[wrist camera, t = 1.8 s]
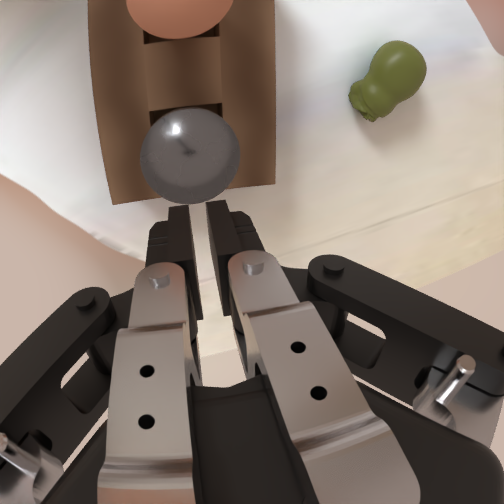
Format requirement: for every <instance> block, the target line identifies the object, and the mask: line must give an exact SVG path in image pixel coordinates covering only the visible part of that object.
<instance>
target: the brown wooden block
mask: <svg viewBox="0 0 504 504" xmlns="http://www.w3.org/2000/svg"><path fill="white" fill-rule="evenodd" d="M88 34H89V52H90V66H91V77H92V87H93V96H94V104H95V112H96V119H97V126H98V132H99V138H100V144H101V150H102V156H103V161H104V166H105V172H106V177H107V181H108V186H109V191H110V195H111V200H112V204H113V205H117V204H123V203H129V202H135V201H141V200H147V199H154V198H161V196H160V195H158V194H157V193H156V192H155V191H154V190H153V189H152V188H151V187H150V186H149V185H148V183H147V182H146V180H145V178H144V176H143V173H142V170H141V165H140V152H141V147H142V144H143V141H144V139H145V137H146V135H147V133H148V131H149V129H150V128H151V127H152V125H153V124H154V123H155V122H156V121H157V120H158V119H159V118H161V117H162V116H164V115H165V114H167V113H169V112H171V111H173V110H176V109H179V108H185V107H199V108H203V109H207V110H210V111H212V112H214V113H216V114H218V115H219V116H220V117H222V118H223V119H224V120H225V121H226V122H227V123H228V124H229V126H230V127H231V128H232V129H233V131H234V133H235V135H236V137H237V139H238V142H239V146H240V163H239V167H238V170H237V173H236V175H235V177H234V179H233V180H232V182H231V183H230V184H229V186H228V187H227V188H226V189H231V188H240V187H250V186H260V185H271V184H275V168H276V71H275V9H274V0H233V3H232V5H231V7H230V9H229V11H228V12H227V13H226V15H225V16H224V17H223V18H222V20H221V21H220V22H219V23H218V24H216V25H215V26H214V27H213V28H211V29H209V30H208V31H206V32H204V33H202V34H200V35H197V36H194V37H190V38H185V39H165V38H160V37H157V36H154V35H152V34H149V33H148V32H146V31H144V30H143V29H142V28H141V27H140V26H139V25H138V24H137V23H136V22H135V21H134V20H133V18H132V17H131V15H130V13H129V11H128V8H127V4H126V0H88Z"/></svg>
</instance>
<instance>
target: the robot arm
mask: <svg viewBox="0 0 504 504" xmlns="http://www.w3.org/2000/svg"><path fill="white" fill-rule="evenodd" d="M206 213H207V223H208V232H209V241H210V249H211V255H212V260H213V266H214V271H215V276H216V281H217V286H218V291H219V296H220V300H221V305H222V310H223V315H224V316H229V315H231V317H232V321H233V330H234V337H235V340H236V344H237V347H238V351H239V355H240V358H241V362H242V365H243V369H244V372H245V376H246V379H247V380H246V381H243V382H241V383H238V384H236V385H234V386H231V387H226V388H219V387H205V386H203V384H202V375H201V365H200V355H199V344H198V337H197V332H198V327H197V320H203V312H202V305H201V298H200V290H199V282H198V274H197V266H196V257H195V250H194V242H193V235H192V228H191V220H190V213H189V205H181V206H174V207H169V214H168V221H161V222H156V223H155V224H154V225H153V227H152V228H151V229H150V232H149V240H148V247H147V256H146V264H145V268H144V269H143V270H142V271H141V272H139V274H138V275H137V277H136V280H135V285H134V288H132V289H130V290H129V291H126V292H124V293H122V294H119V295H116V296H113V297H111V298H110V296H109V294H108V292H107V291H106V290H104V289H103V288H99V287H89V288H85V289H82V290H80V291H78V292H76V293H75V294H73V295H72V296H71V297H70V298H69V299H68V300H66V301H65V302H64V303H63V304H62V305H61V306H60V307H59V308H58V309H57V310H56V311H55V312H54V313H53V314H51V315H50V317H48V318H47V319H46V320H45V321H44V322H43V323H42V324H41V325H40V326H39V327H38V328H37V329H36V330H35V331H34V332H33V333H32V334H31V335H30V336H29V337H28V338H27V339H26V340H25V341H24V342H23V343H22V344H21V345H20V346H19V347H18V348H17V349H16V350H15V351H14V352H13V353H12V354H11V355H10V356H9V357H8V358H7V359H6V360H5V361H4V362H3V363H2V364H1V365H0V504H504V471H503V467H502V465H501V463H500V461H499V459H498V458H497V456H496V455H495V454H494V453H493V452H492V450H491V449H490V445H491V442H492V439H493V436H494V433H495V429H496V426H497V423H498V419H499V415H500V411H501V407H502V403H503V399H504V332H502V331H500V330H498V329H496V328H494V327H492V326H490V325H488V324H486V323H484V322H482V321H480V320H478V319H476V318H474V317H472V316H469V315H467V314H465V313H464V312H461V311H459V310H457V309H455V308H453V307H451V306H449V305H447V304H445V303H443V302H441V301H438V300H436V299H434V298H432V297H430V296H428V295H426V294H424V293H421V292H419V291H417V290H415V289H413V288H411V287H409V286H406V285H404V284H402V283H400V282H398V281H396V280H393V279H391V278H389V277H387V276H385V275H382V274H380V273H378V272H376V271H374V270H371V269H369V268H367V267H365V266H362V265H360V264H358V263H356V262H353V261H351V260H349V259H347V258H344V257H342V256H338V255H321V256H318V257H316V258H314V259H312V260H311V261H310V263H309V266H308V269H296V268H288V267H283V266H280V264H279V263H278V261H277V259H276V258H275V257H274V256H273V255H271V254H270V253H267V252H266V251H265V249H264V247H263V245H262V243H261V240H260V238H259V236H258V234H257V232H256V229H255V227H254V226H253V223H252V221H251V218H250V217H249V216H248V215H246V214H245V213H243V212H242V211H236V212H229V209H228V206H227V203H226V200H219V201H211V202H206ZM348 312H349V313H351V314H353V315H354V316H356V317H358V318H360V319H362V320H364V321H366V322H368V323H370V324H372V325H374V326H376V327H378V328H380V329H381V330H382V331H383V333H384V334H385V336H386V339H383V338H381V337H379V336H377V335H375V334H373V333H371V332H369V331H367V330H365V329H363V328H361V327H360V326H358V325H356V324H354V323H352V322H350V321H348V320H347V316H348ZM85 352H86V353H87V355H88V356H89V359H88V360H87V361H86V362H85V363H84V364H83V365H82V366H81V367H80V369H79V370H78V371H77V372H76V373H75V374H74V375H73V376H72V377H71V379H70V380H69V381H68V382H67V383H66V384H65V385H64V387H63V388H62V389H61V381H62V378H63V377H64V375H65V374H66V373H67V372H68V371H69V370H70V368H71V367H72V366H73V365H74V364H75V363H76V362H77V361H78V360H79V358H80V357H81V356H82V355H83V354H84V353H85ZM352 374H354V375H356V376H357V377H359V378H361V379H363V380H364V381H366V382H368V383H370V384H372V385H373V386H375V387H377V388H379V389H381V390H382V391H384V392H386V393H388V394H390V395H392V396H394V397H395V398H397V399H399V400H401V401H403V402H405V403H407V404H409V405H410V406H412V407H413V410H412V409H410V408H408V407H406V406H404V405H402V404H400V403H398V402H396V401H394V400H392V399H391V398H389V397H387V396H385V395H383V394H381V393H379V392H377V391H376V390H374V389H372V388H370V387H368V386H366V385H365V384H363V383H361V382H359V381H356V380H355V379H354V377H353V375H352ZM107 408H108V419H107V420H106V421H105V422H104V423H103V424H102V425H101V427H99V429H98V430H97V431H96V433H95V434H94V435H93V436H92V438H91V439H90V440H89V441H88V443H87V444H86V445H85V446H84V448H83V449H82V450H81V452H80V453H79V454H78V455H77V457H76V458H75V459H74V460H73V462H72V463H71V464H70V466H69V467H68V468H67V469H66V471H65V472H64V470H63V464H64V463H65V462H66V461H67V459H68V458H69V457H70V455H71V454H72V453H73V452H74V450H75V449H76V448H77V446H78V445H79V444H80V443H81V441H82V440H83V439H84V437H85V436H86V435H87V433H88V432H89V431H90V430H91V428H92V427H93V426H94V425H95V423H96V422H97V421H98V419H99V418H100V417H101V416H102V414H103V413H104V412H105V411H106V409H107Z"/></svg>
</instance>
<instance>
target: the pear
mask: <svg viewBox="0 0 504 504" xmlns="http://www.w3.org/2000/svg"><path fill="white" fill-rule="evenodd" d="M426 70H427V68H426V63H425V60H424V58H423V56H422V54H421V53H420V52H419V51H418V50H417V49H416V48H415V47H414V46H412V45H410V44H409V43H406V42H403V41H391V42H388V43H386V44H384V45H383V46H382V47H381V48H380V49H379V50H378V51H377V53H376V54H375V56H374V57H373V59H372V62H371V65H370V69H369V72H368V73H367V75H366V76H365V77H364V79H362V80H360V81H357V82H355V83H354V84H353V85H352V86H351V90H350V93H349V95H348V96H349V99H350V102H352V105H353V108H355V109H357V110H359V111H360V113H361V114H362V116H363V117H364V118H366V120H367V119H369V121H370V122H374V121H375V120H376V119H377V118H379V117H382V118H383V117H385V116H386V115H388V114H389V113H390V112H391V111H392V110H393V109H394V107H395V106H396V105H397V104H398V103H400V102H402V101H404V100H406V99H408V98H410V97H411V96H412V95H414V94H415V93H416V91H417V90H418V89H419V88H420V86H421V84H422V83H423V81H424V79H425V76H426Z"/></svg>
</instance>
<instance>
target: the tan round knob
mask: <svg viewBox="0 0 504 504" xmlns="http://www.w3.org/2000/svg"><path fill="white" fill-rule="evenodd" d="M232 3H233V0H126V4H127V8H128V11H129V13H130V15H131V17H132V18H133V20H134V21H135V22H136V23H137V24H138V25H139V26H140V27H141V28H142V29H143V30H144V31H146V32H148V33H149V34H152V35H154V36H157V37H160V38H165V39H185V38H190V37H194V36H197V35H200V34H202V33H204V32H206V31H208V30H209V29H211V28H213V27H214V26H215V25H216V24H218V23H219V22H220V21H221V20H222V18H223V17H224V16H225V15H226V13H227V12H228V11H229V9H230V7H231V5H232Z"/></svg>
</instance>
